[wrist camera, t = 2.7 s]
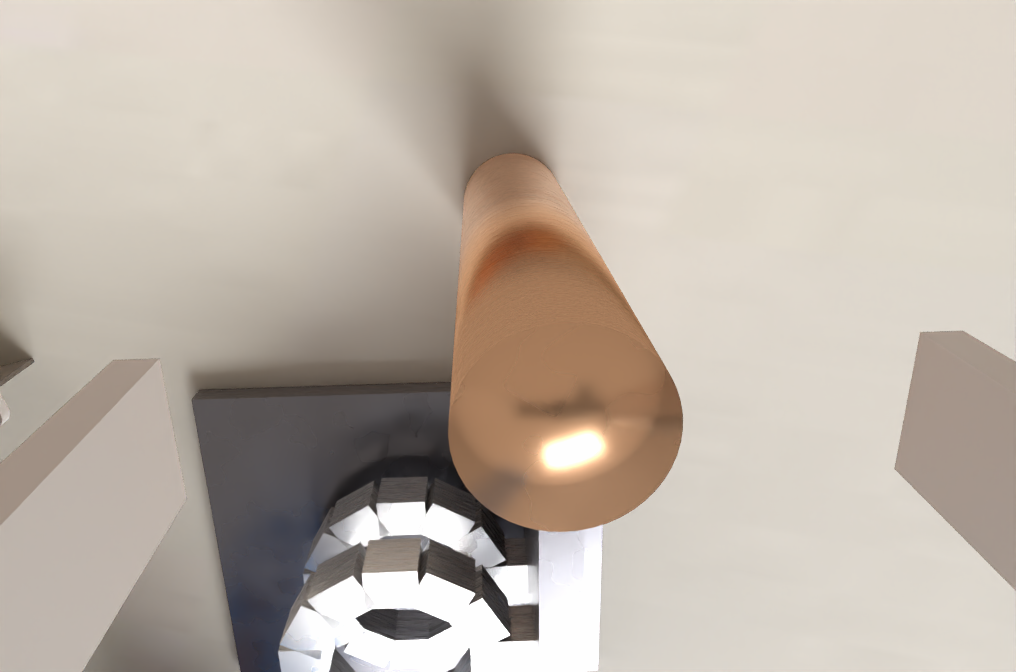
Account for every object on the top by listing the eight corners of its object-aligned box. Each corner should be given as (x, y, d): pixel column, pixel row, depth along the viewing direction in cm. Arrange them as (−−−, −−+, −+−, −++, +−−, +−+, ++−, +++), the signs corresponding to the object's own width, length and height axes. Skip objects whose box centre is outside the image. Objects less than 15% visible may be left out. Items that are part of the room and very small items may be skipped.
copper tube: (561, 152, 31) (690, 318, 12) (560, 248, 33) (675, 527, 14) (461, 154, 31) (442, 325, 12) (465, 251, 32) (453, 535, 14)
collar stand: (603, 377, 35) (654, 509, 25) (595, 656, 40) (633, 852, 31) (199, 390, 34) (88, 530, 24) (248, 671, 40) (175, 876, 30)
